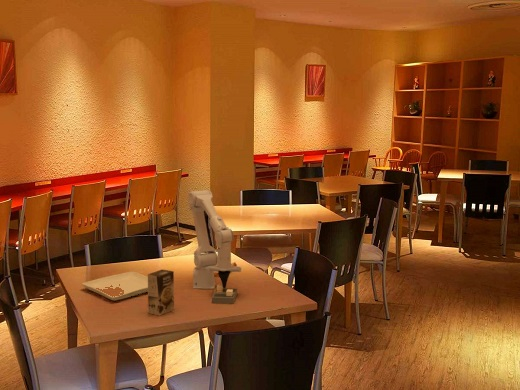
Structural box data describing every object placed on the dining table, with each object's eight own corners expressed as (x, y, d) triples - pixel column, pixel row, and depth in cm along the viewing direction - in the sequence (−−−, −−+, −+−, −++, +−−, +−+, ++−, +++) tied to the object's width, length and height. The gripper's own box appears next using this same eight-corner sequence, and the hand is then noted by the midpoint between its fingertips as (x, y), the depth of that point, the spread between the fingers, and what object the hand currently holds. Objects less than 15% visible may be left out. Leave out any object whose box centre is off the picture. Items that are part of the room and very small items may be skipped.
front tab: (226, 296, 249) (226, 291, 249) (227, 293, 252) (227, 289, 252) (232, 296, 249) (231, 291, 248) (232, 294, 252) (232, 289, 251)
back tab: (216, 290, 256) (216, 286, 256) (217, 288, 259) (217, 284, 259) (222, 290, 256) (222, 286, 256) (223, 288, 259) (223, 284, 259)
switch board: (211, 303, 248) (211, 297, 248) (217, 293, 261) (217, 287, 261) (233, 303, 248) (233, 297, 247) (237, 293, 260) (237, 288, 260)
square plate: (80, 290, 266) (80, 282, 265) (132, 278, 285) (132, 270, 285) (112, 305, 247) (112, 296, 247) (166, 290, 266) (166, 282, 266)
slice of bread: (214, 278, 284) (214, 271, 283) (199, 269, 300) (199, 262, 299) (247, 273, 293) (247, 266, 292) (231, 265, 308) (231, 258, 308)
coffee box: (160, 316, 233) (159, 276, 231) (147, 313, 237) (146, 274, 234) (175, 309, 241) (174, 271, 238) (163, 306, 244) (162, 268, 242)
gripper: (205, 259, 252) (206, 289, 254) (239, 259, 251) (240, 290, 253) (208, 254, 259) (209, 284, 261) (241, 255, 258) (242, 285, 260)
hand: (224, 287), depth 257 cm, fingers closed
